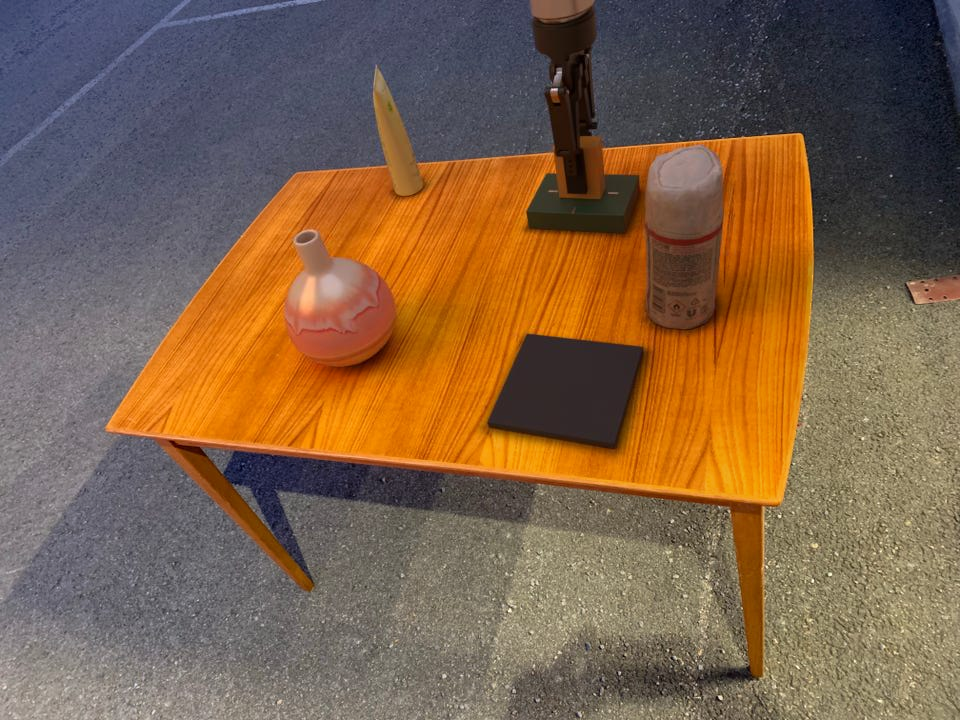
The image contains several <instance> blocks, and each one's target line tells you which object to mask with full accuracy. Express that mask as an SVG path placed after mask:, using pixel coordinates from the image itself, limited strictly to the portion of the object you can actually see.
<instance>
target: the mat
mask: <svg viewBox="0 0 960 720" xmlns="http://www.w3.org/2000/svg"><path fill="white" fill-rule="evenodd" d="M643 354H644V347H643V346H639V345H632V344H622V343H614V342H606V341H605V342H604V341H597V340H586V339H579V338H569V337H561V336H551V335H543V334H535V333H526V334H525V336H524V339H523V341H522V343H521V345H520V348H519V351H518V352H517V354H516V356H515V359H514V361H513V363H512V366H511V368H510V370H509V372H508V375H507V376H506V379H505V381H504V383H503V386H502V388H501V390H500V392H499V395H498V396H497V399H496V402H495V403H494V406H493V408H492V410H491V413H490V415H489V417H488V418H487V425H488V428H490V429H496V430H500V431H501V430H502V431H506V432H508V431H509V432H513V433H518V434H519V433H520V434H525V435H531V436H536V437H542V438H547V439H554V440H558V441H566V442H571V443H572V442H573V443H577V444H583V445H588V446H593V447H595V446H596V447H600V448H606V449H612V450H616V448H617V443H618V440H619V437H620V433H621V430H622V427H623V423H624V420H625V416H626V413H627V409H628V405H629V402H630V399H631V396H632V392H633V388H634V385H635V382H636V379H637V375H638V371H639V368H640V365H641V361H642V358H643Z"/></svg>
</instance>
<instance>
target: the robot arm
mask: <svg viewBox="0 0 960 720" xmlns="http://www.w3.org/2000/svg"><path fill="white" fill-rule="evenodd" d="M528 3H529V9H530V10H529V11H530V14H531V15H532V16H533V17H532V19H531V27H532V33H533V34H532V36H533V41H534V47H535V50H536V51H537V52H538V53H540V54H542V55H544V56H547V58H549V59H550V64H549V67H548V75H549V76H548V77H549V80H550V82H551V86H545V88H544V91H543V94H544V98H545V101H546V104H547V107H548V114H549V120H550V127H551V133H552V139H553V146H555V154H556V157H563V163H564V171H565V179H566V186H567V194H587V191H588V190H587V180H586V171H585V161H584V152H583V149H581V148H580V136H593V132H592V131H593V130H594V131H595V130H598V127H599V126H598V123H599V122H598V121H593V120H594V119H595V117H596V106H595V94H594V93H595V92H594V78H593V68H592V49H593V45H594V43H595V41H596V40H597V37H598V31H597V18H596V17H597V16H596V9H595V7H594V6H593V4H594V3H595V0H528ZM590 130H591V131H590Z"/></svg>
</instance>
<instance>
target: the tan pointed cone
mask: <svg viewBox="0 0 960 720" xmlns="http://www.w3.org/2000/svg"><path fill="white" fill-rule="evenodd" d="M372 85H373V86H372V87H373V92H372V96H373V97H372V100H373V108H374V113H375V119H376V125H377V129H378V134H379V139H380V143H381V147H382V150H383V155H384V158H385V162H386V167H387V168H388V169H387V171H388V174H389V177H390V180H391V183H392V186H393V190H394V193H395V194H397V195H398V196H401V197H406V196H408V197H409V196H412V195H415V194H417V193H418V192H420V191H421V190H422V189H423V187H424V181H423V178H422V176H421V172H420V167H419V165H418V162H417V159H416V156H415V153H414V150H413V148H412V144H411V142H410V139H409V136H408V133H407V130H406V127H405V125H404V122H403V120H402V117H401V115H400V113H399V110H398V108H397V105H396V103H395V100H394V98H393V96H392V94H391V91H390V88H389V86H388V84H387V82H386V80H385V78H384V76H383V74H382V73H381V71H380V69H379V67H378V64H375V69H374V78H373V84H372Z"/></svg>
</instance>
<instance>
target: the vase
mask: <svg viewBox="0 0 960 720" xmlns="http://www.w3.org/2000/svg"><path fill="white" fill-rule="evenodd" d="M292 241H293V243H292V244H293V245H294V247H295V250H296V252H297V255H298V257H299V258H300V261H301V263H302V265H303V269H302V270H301V271H300V272H299V273H298V275H297V276H296V277H295V278H294V280H293V281H292V283H291V285H290V286H289V288H288V290H287V293H286V296H285V299H284V304H283V305H284V306H283V318H284V320H283V321H284V326H285V329H286V332H287V335H288V337H289V339H290V341H291V342H292V344H293V345H294V347H295V348H296V350H297V351H298V352H299V353H301V355H303V356H304V357H305V358H306V359H308V360H311V362H314V363H315V364H320V365H322V366H327V367H332V368H333V367H337V368H341V367H349V366H356V365H359V364H362V363H365V362H367V361H368V360H369V359H371V358H372V357H374V356H375V355H376V354H377V353H378V352H379V351H381V350H382V349H383V347H384V346H385V345H386V344H387V343H388V341H389V339H390V338H391V336H392V334H393V331H394V329H395V326H396V321H397V316H398V315H397V304H396V301H395V297H394V294H393V292H392V290H391V288H390V286H389V284H388V283H387V281H386V280H385V279H384V278H383V276H382V275H381V274H379V272H378V271H376V270H375V269H374V268H372V267H371V266H369V265H368V264H366V263H363V262H361V261H359V260H356V259H352V258H349V257H339V256H336V257H335V256H334V257H333V256H332V257H331V256H330V255H331V254H330V253H329V251H328V248H327V246H326V244H325V242H324V240H323V238H322V236H321V234H320V232H319V231H318V230H317V229H313V228H309V229H305V230H303V231H301V232H298V233H297V234H296V235H295V236H294V238H293V239H292Z"/></svg>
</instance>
